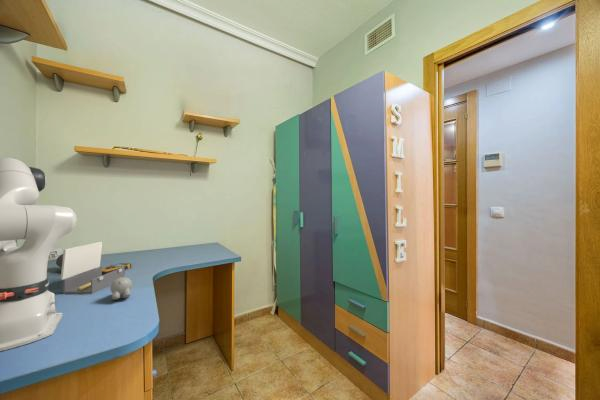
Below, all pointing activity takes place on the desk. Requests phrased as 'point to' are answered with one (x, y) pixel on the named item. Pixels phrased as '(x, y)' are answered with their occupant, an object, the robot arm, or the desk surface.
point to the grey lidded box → (91, 281)
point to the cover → (81, 259)
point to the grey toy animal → (121, 288)
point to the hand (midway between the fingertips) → (53, 256)
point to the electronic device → (115, 267)
